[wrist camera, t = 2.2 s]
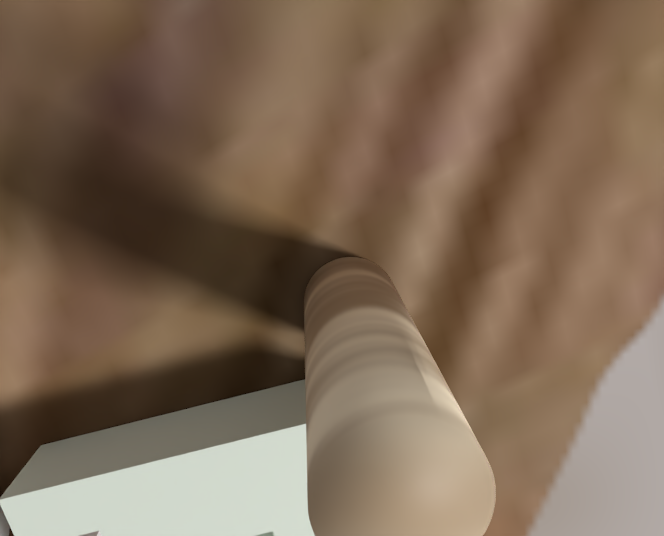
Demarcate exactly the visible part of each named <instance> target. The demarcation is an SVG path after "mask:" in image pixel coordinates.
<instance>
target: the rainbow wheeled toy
mask: <svg viewBox="0 0 664 536" xmlns="http://www.w3.org/2000/svg"><path fill="white" fill-rule="evenodd" d="M9 530H10V525H9V523H8V521H7V519H6V516H5V514H4V512H3V510H2V508H1V505H0V536H9Z"/></svg>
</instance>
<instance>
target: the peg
mask: <svg viewBox="0 0 664 536" xmlns="http://www.w3.org/2000/svg"><path fill="white" fill-rule="evenodd" d="M304 334H305V390H306V445H307V501H308V515H309V520H310V524H311V527H312V529H313V532H314V535H315V536H483V534H484V533H485V531H486V529H487V527H488V525H489V523H490V521H491V518H492V515H493V511H494V506H495V499H496V488H495V480H494V476H493V472H492V469H491V466H490V464H489V462H488V460H487V458H486V456H485V454H484V452H483V450H482V448H481V447H480V445H479V443H478V441H477V439H476V437H475V435H474V434H473V432H472V430H471V428H470V426H469V424H468V422H467V420H466V419H465V417H464V415H463V413H462V411H461V409H460V407H459V406H458V404H457V402H456V400H455V398H454V396H453V394H452V393H451V391H450V389H449V387H448V385H447V383H446V381H445V379H444V378H443V376H442V374H441V372H440V370H439V368H438V366H437V365H436V363H435V361H434V359H433V357H432V355H431V353H430V352H429V350H428V348H427V346H426V344H425V342H424V340H423V338H422V337H421V335H420V333H419V331H418V329H417V327H416V325H415V324H414V322H413V320H412V318H411V316H410V314H409V312H408V311H407V309H406V307H405V305H404V303H403V301H402V299H401V297H400V296H399V294H398V292H397V290H396V288H395V286H394V284H393V283H392V281H391V279H390V277H389V276H388V274H387V273H386V272H385V271H384V270H383V269H382V268H381V267H380V266H378V265H377V264H375V263H374V262H372V261H370V260H367V259H364V258H359V257H343V258H338V259H335V260H333V261H330V262H328V263H327V264H325V265H323V266H322V267H321V268H320V269H318V270H317V271H316V273H315V274H314V275H313V276H312V278H311V279H310V281H309V283H308V285H307V288H306V291H305V295H304Z"/></svg>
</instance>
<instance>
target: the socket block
mask: <svg viewBox="0 0 664 536" xmlns="http://www.w3.org/2000/svg"><path fill="white" fill-rule="evenodd" d="M0 505H1V508H2V510H3V512H4V514H5V516H6V519H7V521H8V523H9V525H10V528H11V530H12V532H13V534H14V536H79V535H83V534H87V533H91V532H96V531H100V534H101V536H315V535H314V532H313V529H312V527H311V524H310V520H309V515H308V501H307V445H306V390H305V379H304V380H300V381H296V382H292V383H288V384H284V385H280V386H276V387H272V388H268V389H264V390H260V391H256V392H252V393H248V394H244V395H240V396H236V397H232V398H228V399H224V400H220V401H216V402H212V403H208V404H204V405H200V406H196V407H192V408H188V409H184V410H180V411H176V412H172V413H168V414H164V415H160V416H156V417H152V418H148V419H144V420H140V421H136V422H132V423H128V424H124V425H120V426H116V427H112V428H108V429H104V430H100V431H96V432H92V433H88V434H84V435H80V436H76V437H72V438H68V439H64V440H60V441H56V442H52V443H48V444H44V445H41V446H40V447H39V448H38V450H37V451H36V452H35V453H34V455H33V456H32V457H31V459H30V460H29V461H28V462H27V464H26V465H25V466H24V468H23V469H22V470H21V471H20V473H19V474H18V475H17V477H16V478H15V479H14V480H13V482H12V483H11V484H10V486H9V487H8V488H7V489H6V491H5V492H4V493H3V495H2V496H1V497H0Z"/></svg>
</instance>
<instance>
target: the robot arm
mask: <svg viewBox="0 0 664 536" xmlns="http://www.w3.org/2000/svg"><path fill="white" fill-rule="evenodd" d="M79 536H101V534H100V531H96V532H91V533H87V534H83V535H79Z"/></svg>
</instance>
